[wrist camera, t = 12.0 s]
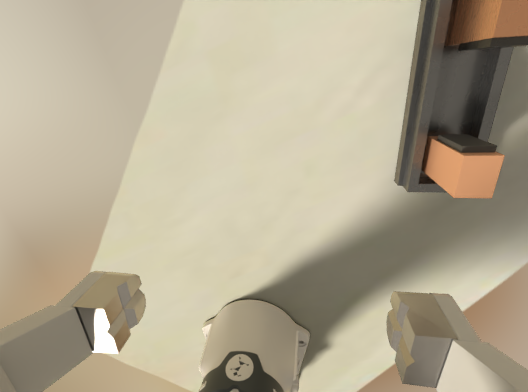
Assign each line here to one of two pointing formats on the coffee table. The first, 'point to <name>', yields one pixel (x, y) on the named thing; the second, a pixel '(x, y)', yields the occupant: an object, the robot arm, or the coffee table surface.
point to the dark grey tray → (456, 76)
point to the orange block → (462, 165)
